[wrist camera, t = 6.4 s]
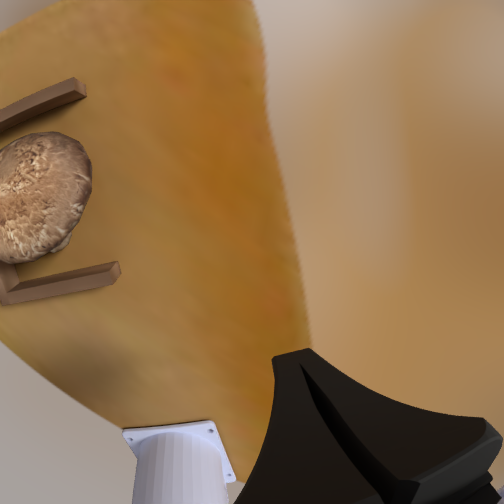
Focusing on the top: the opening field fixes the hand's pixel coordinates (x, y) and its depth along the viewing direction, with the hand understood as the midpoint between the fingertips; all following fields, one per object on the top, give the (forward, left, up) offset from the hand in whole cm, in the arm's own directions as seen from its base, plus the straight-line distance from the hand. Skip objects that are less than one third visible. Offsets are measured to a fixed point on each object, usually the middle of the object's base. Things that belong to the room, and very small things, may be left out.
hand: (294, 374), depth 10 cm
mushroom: (+8, +12, -10) cm, 17 cm away
